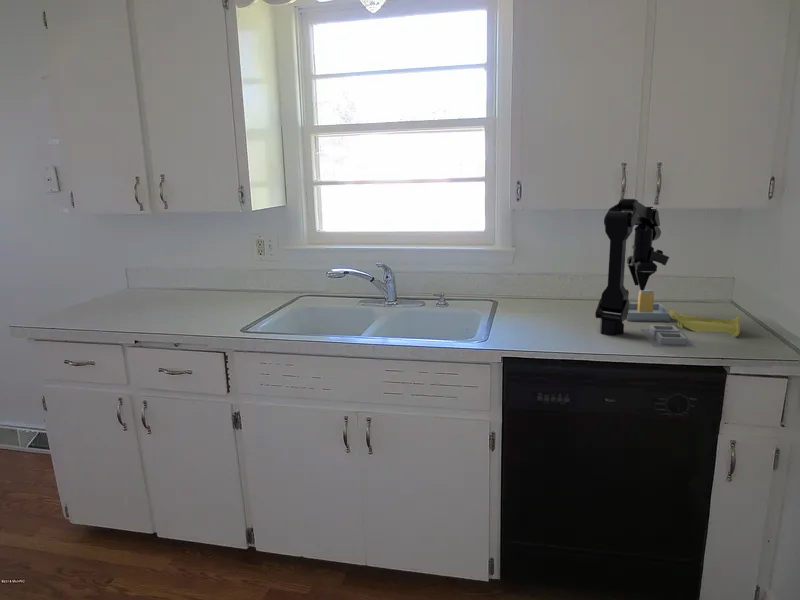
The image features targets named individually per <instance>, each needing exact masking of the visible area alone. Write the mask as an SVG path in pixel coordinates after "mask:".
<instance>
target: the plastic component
mask: <svg viewBox="0 0 800 600" xmlns="http://www.w3.org/2000/svg"><path fill="white" fill-rule="evenodd" d="M668 311H669V315H670V319H673V320H677V327H678V328H682V329H683V328H684V329H688V330H690V331H692V332H697V333H701V332H712V333H713V332H715V333H716V332H717V333H729V334H730V335H731V336H732V337H734V338H737V337H738V336H739V334H740V332H741V317H740V316H736V317H734V318H732V319H728V320H727V319H715V318H707V317H699V316H698V317H697V316H694V315H689V314H685V313H684V314H683V313H682V314H680V313H679V314H678V313H677V312H676V310H675V309H670V310H668Z"/></svg>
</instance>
